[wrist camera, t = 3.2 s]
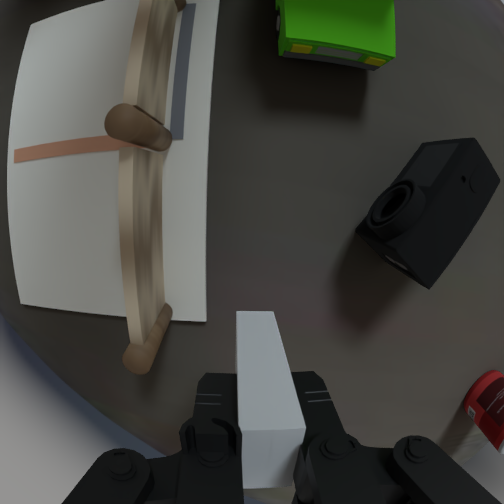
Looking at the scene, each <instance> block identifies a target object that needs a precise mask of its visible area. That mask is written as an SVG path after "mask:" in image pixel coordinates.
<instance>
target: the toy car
mask: <svg viewBox="0 0 504 504" xmlns="http://www.w3.org/2000/svg"><path fill="white" fill-rule="evenodd" d="M276 10H278V14H277V23H276V36H277V41H278V52H279V56H283V57H288V58H299V59H308V60H316V61H323V62H330V63H336V64H342V65H348V66H353V67H358V68H363V69H368V70H373V71H374V70H376V69H378V68H380V67H381V66H383V65H384V64H386V63H387V62H389V61H390V60H392V59H393V58H395V16H394V0H276Z"/></svg>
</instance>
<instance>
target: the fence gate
mask: <svg viewBox="0 0 504 504" xmlns="http://www.w3.org/2000/svg"><path fill="white" fill-rule="evenodd" d="M162 177H163V155H162V154H158V153H155V152H151V151H148V150H144V149H141V148H137V147H120V148H119V173H118V209H119V238H120V255H121V269H122V280H123V290H124V299H125V308H126V316H127V323H128V330H129V337H130V344H129V345H128V347H127V349H126V351H125V352H124V354H123V356H122V361H123V364H124V366H125V367H126V368H127V369H128V370H129V371H130V372H132V373H134V374H138V375H142V374H146V373H147V372H149V370H150V368H151V366H152V363H153V361H154V358H155V356H156V353H157V351H158V349H159V346H160V344H161V341H162V339H163V337H164V334H165V332H166V329H167V327H168V325H169V322H170V320H171V318H172V315H173V311H172V308H171V306H170V305H169V304H167V303H166V302H165V289H164V270H163V240H162Z"/></svg>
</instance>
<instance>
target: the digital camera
mask: <svg viewBox="0 0 504 504" xmlns="http://www.w3.org/2000/svg"><path fill="white" fill-rule="evenodd" d="M499 183H500V178H499V177H498V175H497V173H496V171H495V170H494V168H493V166H492V164H491V163H490V161H489V159H488V158H487V156H486V154H485V153H484V151H483V150H482V148H481V146H480V145H479V143H478V142H477V140H476V139H475V138H461V139H451V140H442V141H433V142H425V143H422V144H421V146H420V147H419V148H418V150H417V151H416V153H415V154H414V155H413V157H412V158H411V159H410V161H409V162H408V163H407V165H406V166H405V167H404V169H403V170H402V171H401V173H400V174H399V175H398V176H397V178H396V179H395V180H394V182H393V183H392V184H391V186H390V187H388V188H387V189H386V190H385V191H384V192H383V193H382V194H381V195H380V196H379V197H378V198H377V199H376V200H375V202H374V203H373V205H372V206H371V208H370V210H369V212H368V215H367V216H366V217H365V218H364V220H363V221H362V222H361V223H360V225H359V226H358V227H357V228H356V233H358V234H359V235H360V236H361V237H362V238H363V239H364V240H365V241H366V242H367V243H368V244H369V245H370V246H371V247H372V248H373V249H374V250H375V251H376V252H377V253H378V254H379V255H380V256H381V257H382V258H383V259H384V260H385V261H386V262H387V263H388V264H390V265H391V266H393V267H395V268H396V269H398V270H399V271H401V272H402V273H404V274H405V275H407V276H408V277H410V278H412V279H413V280H415V281H416V282H418V283H419V284H421V285H422V286H424V287H426V288H427V289H430V288H431V287H432V286H433V284H434V283H435V282H436V280H437V279H438V278H439V277H440V275H441V274H442V273H443V271H444V270H445V269H446V267H447V266H448V265H449V263H450V262H451V261H452V259H453V258H454V256H455V255H456V253H457V252H458V251H459V249H460V248H461V246H462V245H463V243H464V242H465V240H466V239H467V237H468V236H469V234H470V233H471V231H472V229H473V228H474V226H475V225H476V223H477V221H478V220H479V218H480V217H481V215H482V213H483V212H484V210H485V208H486V206H487V205H488V203H489V201H490V199H491V197H492V196H493V194H494V192H495V190H496V188H497V186H498V184H499Z"/></svg>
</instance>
